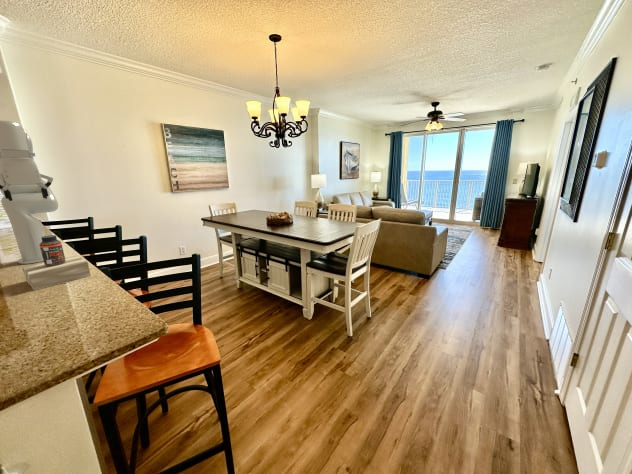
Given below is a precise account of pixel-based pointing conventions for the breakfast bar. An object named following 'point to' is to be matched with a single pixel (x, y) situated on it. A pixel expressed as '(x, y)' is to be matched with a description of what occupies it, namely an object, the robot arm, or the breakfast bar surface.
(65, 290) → the breakfast bar surface
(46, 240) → the supplement bottle
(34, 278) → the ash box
